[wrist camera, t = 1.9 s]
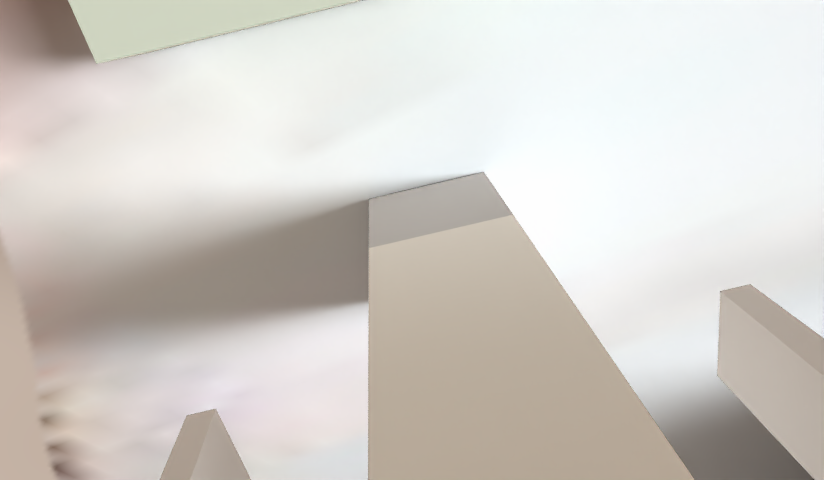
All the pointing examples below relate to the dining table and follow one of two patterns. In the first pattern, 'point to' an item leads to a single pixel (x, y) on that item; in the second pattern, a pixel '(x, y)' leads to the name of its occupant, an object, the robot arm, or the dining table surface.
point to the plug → (489, 354)
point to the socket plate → (176, 21)
